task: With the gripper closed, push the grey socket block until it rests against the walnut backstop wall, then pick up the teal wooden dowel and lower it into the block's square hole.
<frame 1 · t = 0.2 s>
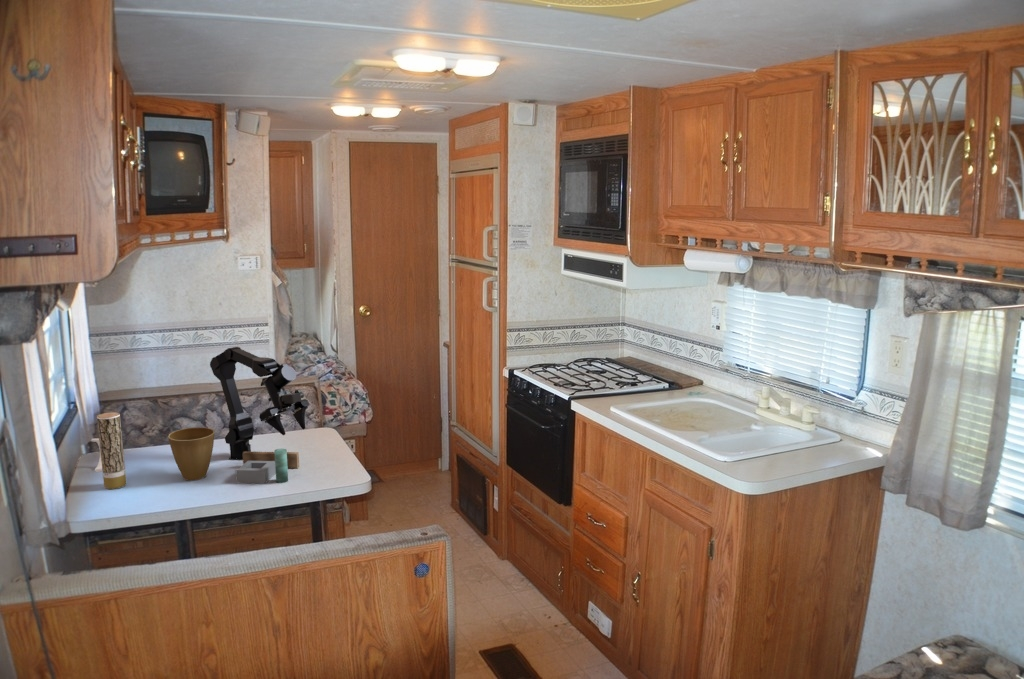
hand: (294, 431, 272), 15 cm above the table, tool tilted 30°, fingers open, 9 cm apart
headphone stand: (105, 469, 280), on the table
socket block: (256, 477, 270), on the table
brown bark cylinder: (115, 486, 263), on the table
backstop wall: (271, 467, 281), on the table
plant pot: (195, 477, 271), on the table
dowel: (282, 480, 267), on the table
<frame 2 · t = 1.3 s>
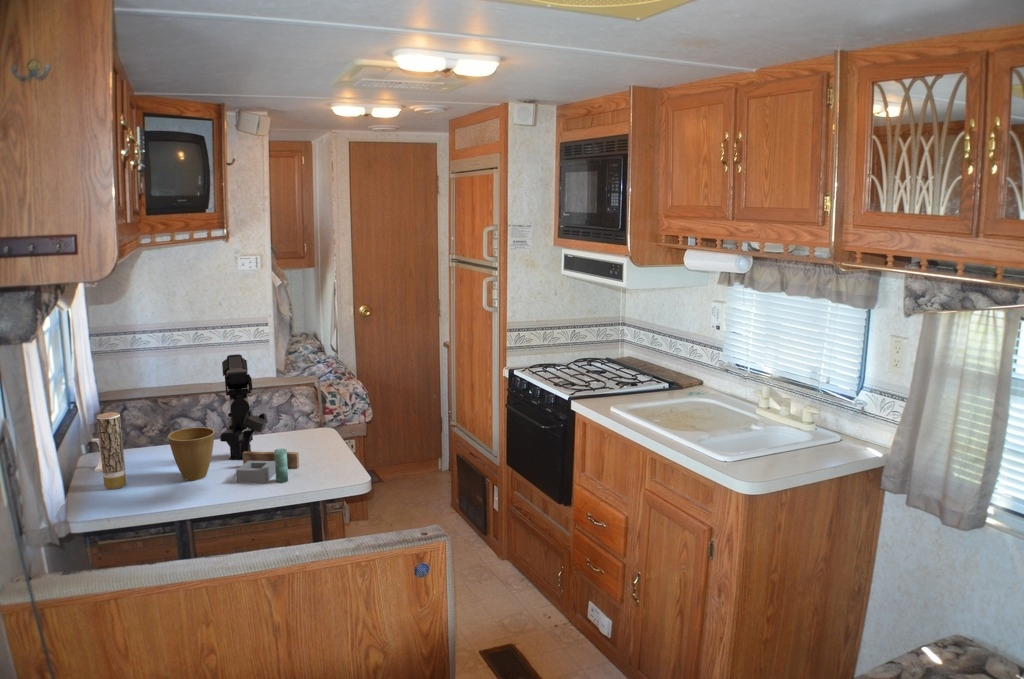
hand: (242, 454, 258), 12 cm above the table, tool pointing down, fingers open, 6 cm apart
nothing on the table moved.
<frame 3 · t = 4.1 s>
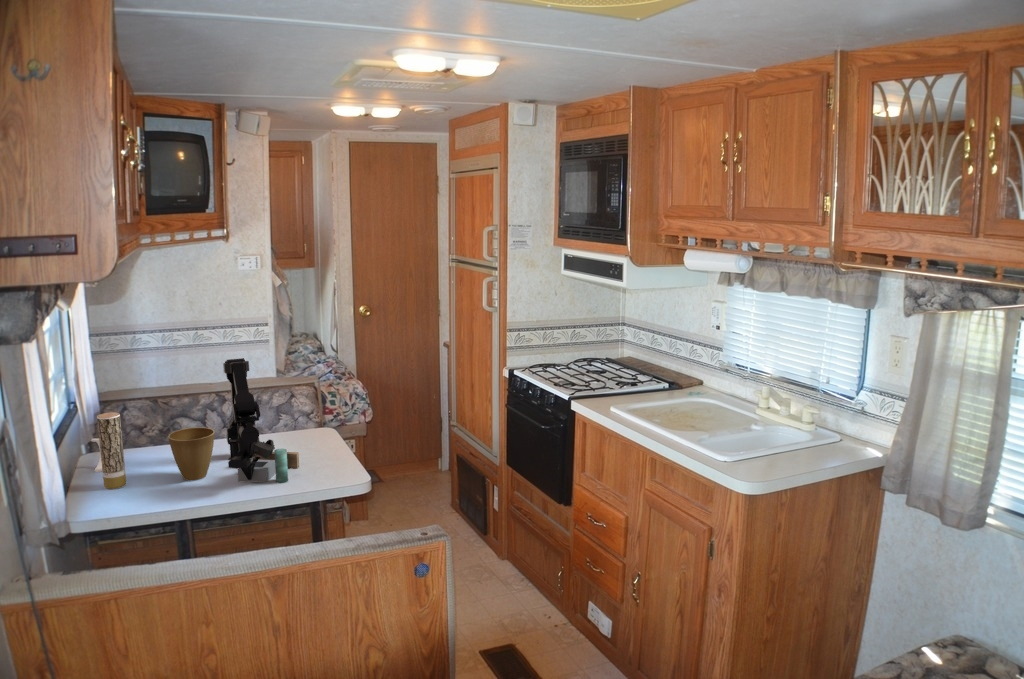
hand: (249, 479, 264), 1 cm above the table, tool pointing down, fingers closed
socket block: (258, 476, 271), on the table, touching gripper
everything else where it was.
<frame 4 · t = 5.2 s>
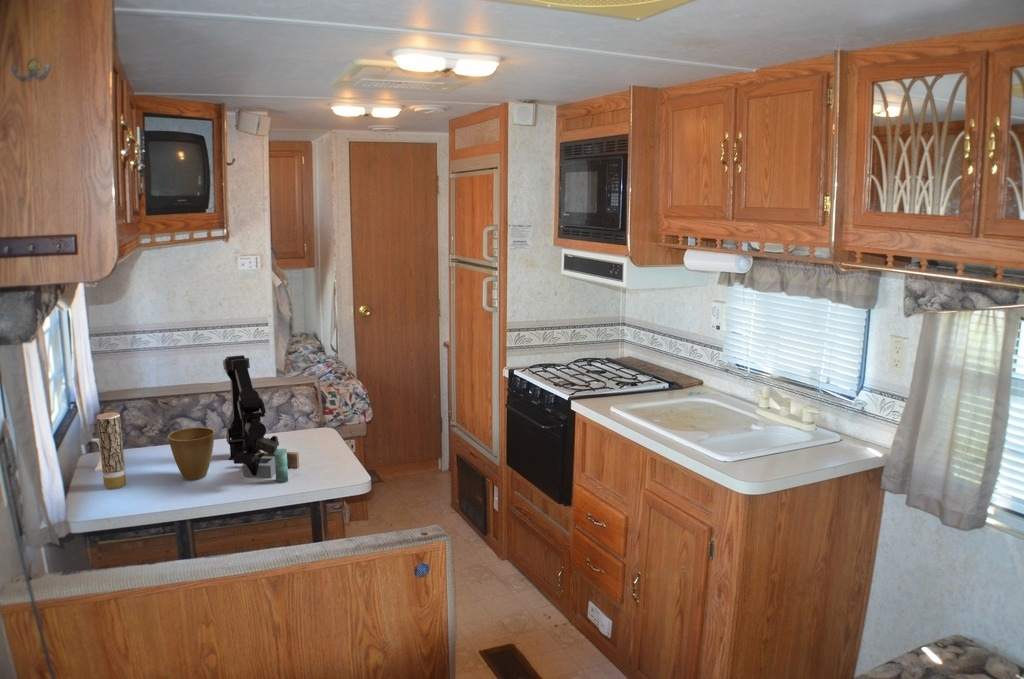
hand: (254, 475, 268), 2 cm above the table, tool pointing down, fingers closed
socket block: (262, 472, 275), on the table, touching backstop wall, gripper
everything else where it was.
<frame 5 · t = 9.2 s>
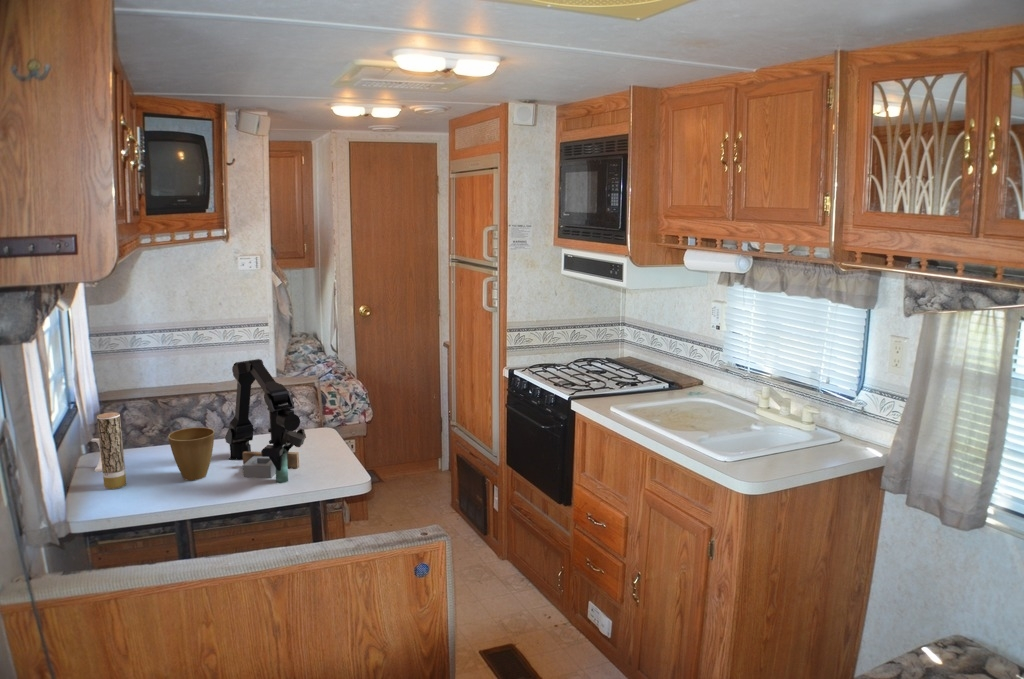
hand: (281, 468, 266), 5 cm above the table, tool pointing down, fingers closed on dowel, 4 cm apart
socket block: (262, 472, 275), on the table
dowel: (282, 481, 267), on the table, touching gripper
everything else where it was.
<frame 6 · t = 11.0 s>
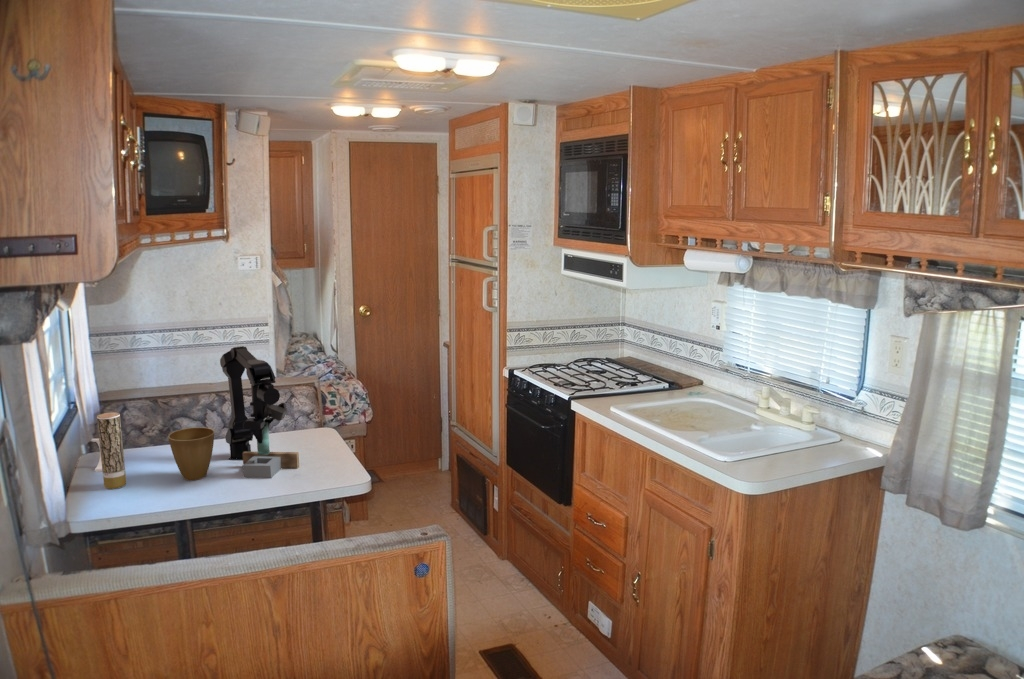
hand: (262, 441, 272), 12 cm above the table, tool pointing down, fingers closed on dowel, 4 cm apart
dowel: (263, 453, 273), point 7 cm above the table, touching gripper
everything else where it was.
when the fingers open (5 cm above the table, at t = 13.1 s): dowel drops 1 cm, resting in socket block.
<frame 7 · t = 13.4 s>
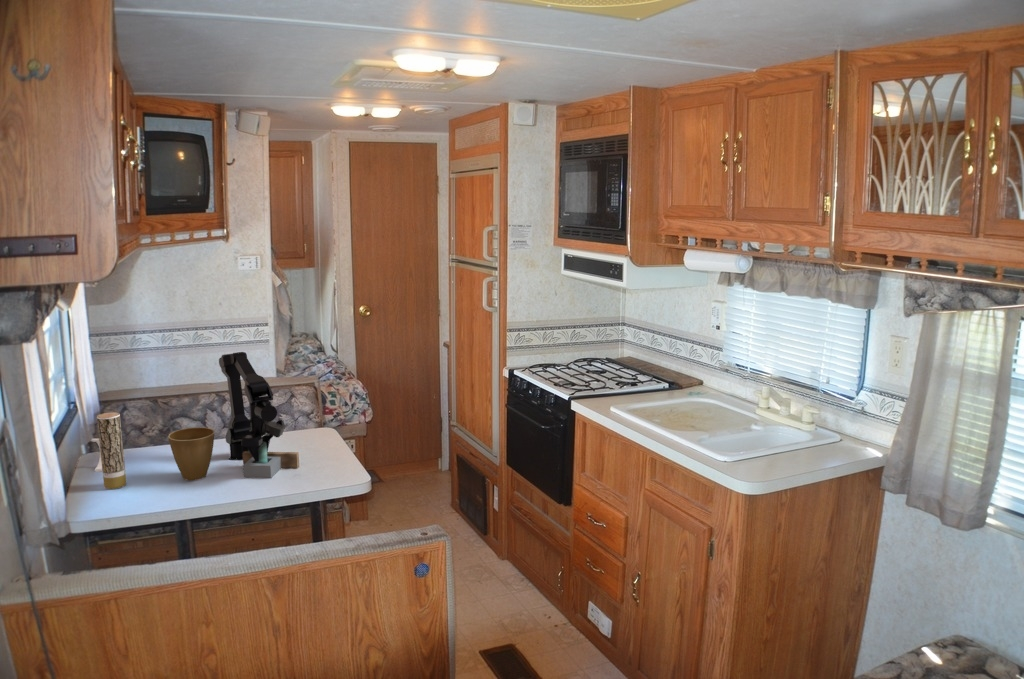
hand: (261, 458, 274), 5 cm above the table, tool pointing down, fingers open, 7 cm apart
dowel: (262, 472, 275), resting in socket block
everything else where it was.
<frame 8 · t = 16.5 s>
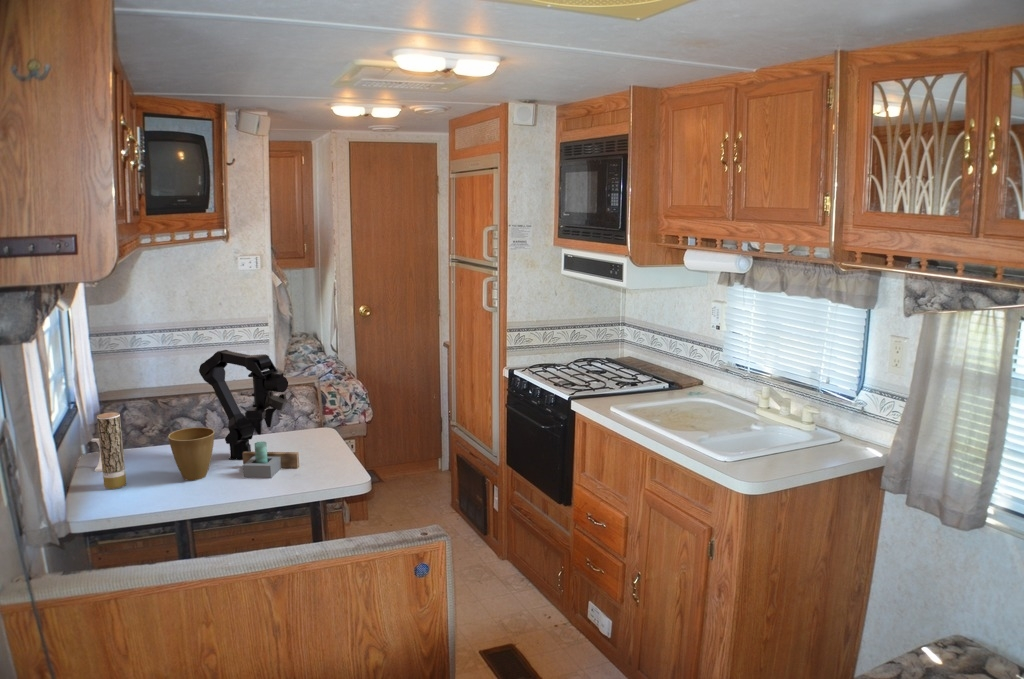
hand: (264, 430, 284), 12 cm above the table, tool pointing down, fingers open, 9 cm apart
nothing on the table moved.
at the end: dowel 0.1 cm off-centre on the socket block, point 0.0 cm above the socket block's base; socket block 0.3 cm from the target spot, on the table; dowel tilted 0° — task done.
